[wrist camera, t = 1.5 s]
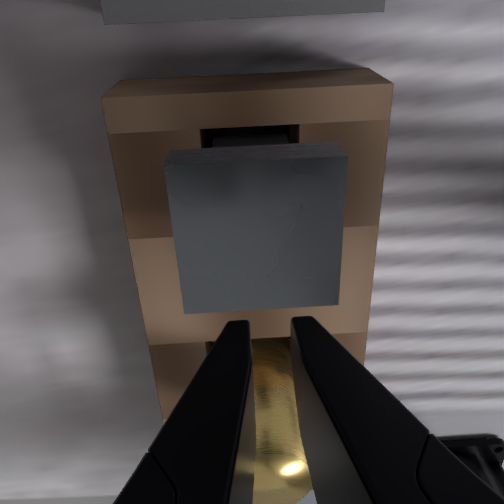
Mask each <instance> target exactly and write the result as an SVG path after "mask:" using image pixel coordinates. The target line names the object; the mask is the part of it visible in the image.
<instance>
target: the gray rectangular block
mask: <svg viewBox="0 0 504 504" xmlns="http://www.w3.org/2000/svg"><path fill="white" fill-rule="evenodd" d="M347 166H348V155H347V153H346V152H345V151H344V149H343V148H342V146H341V145H340V143H339V142H338V141H332V142H313V143H294V144H290V143H289V141H288V138H287V135H286V134H268V135H249V136H230V137H213V145H212V148H199V149H180V150H169V152H168V155H167V157H166V160H165V163H164V172H165V179H166V186H167V194H168V201H169V208H170V215H171V222H172V230H173V237H174V244H175V251H176V259H177V266H178V273H179V280H180V287H181V295H182V302H183V309H184V314H198V313H215V312H232V311H248V310H265V309H282V308H299V307H316V306H332V305H339V291H340V276H341V260H342V244H343V229H344V213H345V197H346V182H347Z"/></svg>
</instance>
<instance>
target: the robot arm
mask: <svg viewBox="0 0 504 504" xmlns="http://www.w3.org/2000/svg"><path fill="white" fill-rule="evenodd" d="M290 355H291V365H292V374H293V382H294V390H295V398H296V407H297V415H298V423H299V429H300V435H301V440H302V445H303V449H304V453H305V457H306V461H307V465H308V469H309V473H310V477H311V481H312V485H313V489H314V492H315V497H316V501H317V504H504V469H503V468H502V463H503V460H504V441H503V440H502V439H500V438H494V439H479V440H463V441H448V442H441V441H440V440H439V439H438V438H437V437H436V436H435V435H434V434H429V430H428V429H427V428H426V427H425V426H424V425H423V424H422V423H421V422H420V421H419V420H418V419H417V418H416V417H415V416H414V415H413V414H412V413H411V412H410V411H409V410H408V409H407V408H406V407H405V406H404V405H403V404H402V403H401V402H400V401H399V400H398V399H397V398H396V397H395V396H394V395H393V394H392V393H391V392H389V391H388V390H387V389H386V388H385V387H384V386H383V385H382V384H381V383H380V382H379V381H378V380H377V379H376V378H375V377H374V376H373V375H372V374H371V373H370V372H369V371H368V370H367V369H366V368H365V367H364V366H363V365H362V364H361V363H360V362H359V361H358V360H357V359H356V358H355V357H354V356H353V355H352V354H351V353H350V352H349V351H348V350H347V349H346V348H345V347H344V346H343V345H342V344H341V343H340V342H339V341H338V340H337V339H336V338H334V337H333V336H332V335H331V334H330V333H329V332H328V331H327V330H326V329H325V328H324V327H323V326H322V325H321V324H320V323H319V322H318V321H317V320H316V319H315V318H314V317H312V316H297V317H292V319H291V322H290ZM255 456H256V417H255V398H254V380H253V361H252V346H251V332H250V322H249V321H248V320H231V321H228V322H227V323H226V325H225V326H224V328H223V330H222V331H221V333H220V334H219V336H218V338H217V339H216V341H215V343H214V344H213V346H212V347H211V349H210V351H209V352H208V354H207V355H206V357H205V359H204V360H203V362H202V363H201V365H200V367H199V368H198V370H197V372H196V373H195V375H194V376H193V378H192V380H191V381H190V383H189V384H188V386H187V388H186V389H185V391H184V392H183V394H182V396H181V397H180V399H179V401H178V402H177V404H176V405H175V407H174V409H173V410H172V412H171V413H170V415H169V417H168V418H167V420H166V421H165V423H164V425H163V426H162V428H161V430H160V431H159V433H158V434H157V436H156V438H155V439H154V441H153V442H152V444H151V446H150V447H149V449H148V452H147V453H145V455H144V456H143V458H142V460H141V461H140V463H139V465H138V466H137V468H136V469H135V471H134V473H133V474H132V476H131V477H130V479H129V480H128V482H127V483H126V485H125V486H124V488H123V489H122V491H121V492H120V494H119V495H118V497H117V498H116V500H115V501H114V503H113V504H252V503H253V487H254V472H255Z"/></svg>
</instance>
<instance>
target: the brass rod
mask: <svg viewBox="0 0 504 504" xmlns="http://www.w3.org/2000/svg"><path fill="white" fill-rule="evenodd" d="M251 346H252V361H253V380H254V398H255V417H256V456H255V472H254V487H253V503H252V504H294V503H296V502H298V501H299V500H301V499H302V498H303V497H304V496H305V495H306V494H307V493H308V492H309V490H310V489H311V486H312V481H311V477H310V473H309V469H308V465H307V461H306V457H305V453H304V449H303V445H302V440H301V435H300V429H299V423H298V415H297V407H296V398H295V390H294V382H293V374H292V365H291V355H290V344H289V338H288V337H274V338H257V339H251Z"/></svg>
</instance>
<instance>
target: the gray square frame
mask: <svg viewBox="0 0 504 504" xmlns="http://www.w3.org/2000/svg"><path fill="white" fill-rule="evenodd" d="M100 3H101V9H102V14H103V20H104V25H111V24H132V23H153V22H174V21H195V20H217V19H238V18H259V17H280V16H301V15H322V14H344V13H365V12H384V6H385V0H100Z"/></svg>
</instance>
